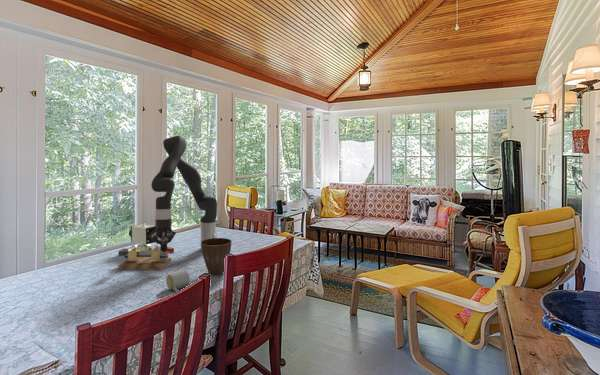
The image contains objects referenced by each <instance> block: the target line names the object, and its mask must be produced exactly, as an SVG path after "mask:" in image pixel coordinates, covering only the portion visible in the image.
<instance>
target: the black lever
mask: <svg viewBox="0 0 600 375" xmlns="http://www.w3.org/2000/svg"><path fill="white" fill-rule="evenodd" d="M137 246H138V245H137V244H134V245H131V246H130V247H129V248H122V249H120V250H119V251H117V252H118V254H117V255H118V257H124V256H125V255H126V254H128V252H129V251H131V250H132V249H135V248H137Z"/></svg>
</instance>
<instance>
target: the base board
mask: <svg viewBox="0 0 600 375" xmlns="http://www.w3.org/2000/svg"><path fill="white" fill-rule="evenodd" d="M172 261H173V258H172V257H168V261H167V262H166V263H161V260H151V257H141V258H139V259H138V260H131V261H130V262H128V263H123V262H122V263H119V265H118V270H163V269H164V268H166V267H167V266H168V265H169V264H170V263H172Z"/></svg>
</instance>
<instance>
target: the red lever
mask: <svg viewBox="0 0 600 375" xmlns="http://www.w3.org/2000/svg"><path fill="white" fill-rule="evenodd" d="M154 248H155V249H160V244H157V245H154ZM166 253H168V255H171V254H174V253H175V248H174V247H171V246H167V250H166Z"/></svg>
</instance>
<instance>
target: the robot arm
mask: <svg viewBox="0 0 600 375" xmlns="http://www.w3.org/2000/svg"><path fill="white" fill-rule="evenodd" d="M162 141H163V142H162V144H163V148H164V150H165V152H166V154H167V155H168V156H167V157H166V158H165V159H164V161H163V162H162V164H161V167H160V170H159V172H158V173H157V174H156V175H155V176H154V177H153V179H152V180H151V189H152V190H153V192H157V193H165V195H162V196H158V197H156V199H155V216H154V218H155V219H154V220H155V222H154V223H155V224H154V226H155V227H156V230H155V233H154V234H153V235H151V237H152V239H153V240H154V241H155V242H154V243H156V244H157V245H159V246H160V250H161V252H166V250H167V247H168V244H169V243H171V242H172V241H173V239H174V237H175V235H176V231H174V230H173V228H172V224H173V223H172V222H173V221H172V197H173V193H174V189H175V184H176V183H175V181H174V175H175V173H176V169H177V170H178V172H179V173H180V175H181V177H182V178H183V181H184V182H185V184H186V185H187V187H188V189H189V191H190V193H191V194H192V196H193V199H194V201H195V203H196V205H197V207H198V209H199V210H201V211H202V212H203V211H204V216H201V217H200V224H199V226H200V242H201V241H203V240H206V239H211V238H218V237H217V236H218V233H217V231H216V230H217V229H216V227H217V225H216V224H217V223H216V222H217V220H216V219H217V218H218V217H217V216H218V201H217V199H216V197H214V196H209V195H207V194H206V193H205V192H204V190H203V188H202V178H201V175H200V173H199V171H198V170H197V168H196V166H194V165H193V164H192V163H190V162H188V161H187V160H185V159H184V158H183V157H182V156H183V155H184V153H185V152H186V149H187V142H186V139H185V137H184V136H182V135H174V136H172V137H171V136H170V137H167V138H164V139H163V140H162ZM157 236H158V237H159V238H157ZM200 250H201V251H202V247H201V246H200Z"/></svg>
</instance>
